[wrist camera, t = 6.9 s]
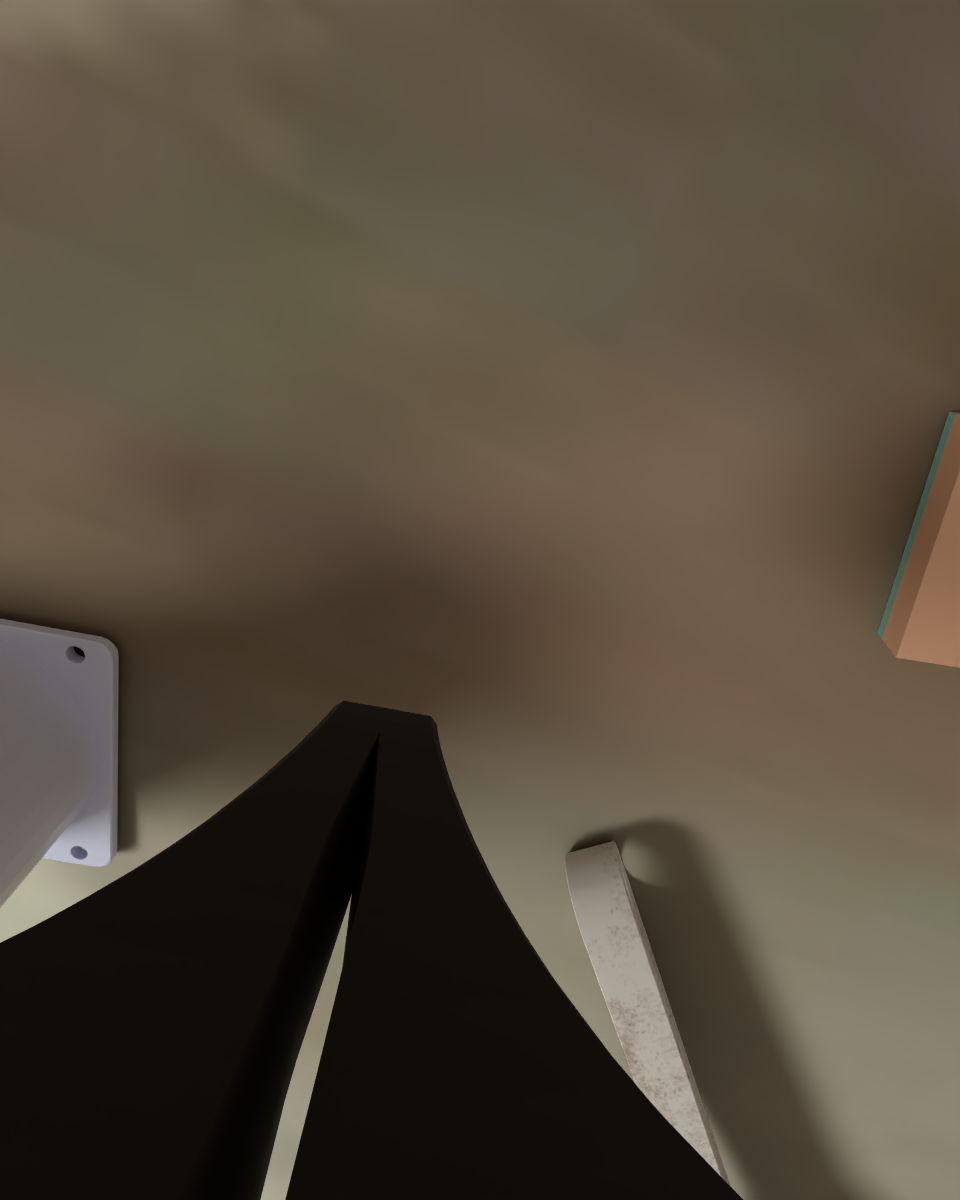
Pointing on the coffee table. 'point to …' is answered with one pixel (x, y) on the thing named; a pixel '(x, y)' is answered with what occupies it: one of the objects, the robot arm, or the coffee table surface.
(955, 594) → the tile
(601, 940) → the wrench
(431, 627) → the coffee table surface
